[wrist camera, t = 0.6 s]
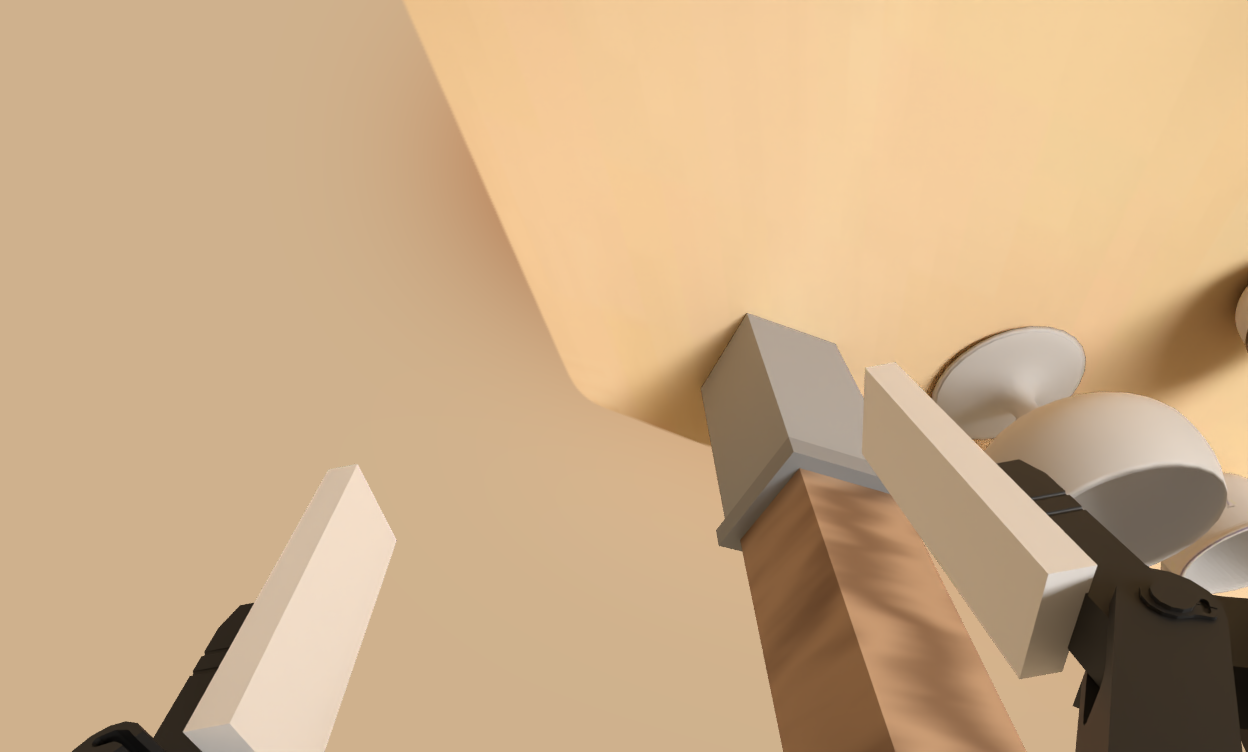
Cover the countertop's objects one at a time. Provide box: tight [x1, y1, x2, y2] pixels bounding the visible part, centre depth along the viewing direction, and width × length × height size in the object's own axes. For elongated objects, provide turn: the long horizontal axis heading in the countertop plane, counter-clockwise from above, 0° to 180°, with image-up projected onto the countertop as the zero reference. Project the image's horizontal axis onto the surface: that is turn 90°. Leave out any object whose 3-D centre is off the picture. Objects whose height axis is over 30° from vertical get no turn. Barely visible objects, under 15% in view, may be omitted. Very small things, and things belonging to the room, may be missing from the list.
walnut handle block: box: [740, 468, 1026, 752], centre depth 28 cm, size 16×7×18 cm, turn 68°
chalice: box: [932, 326, 1227, 567], centre depth 44 cm, size 14×14×15 cm
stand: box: [701, 313, 890, 551], centre depth 43 cm, size 9×9×16 cm
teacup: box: [1161, 473, 1248, 594], centre depth 57 cm, size 14×11×8 cm
